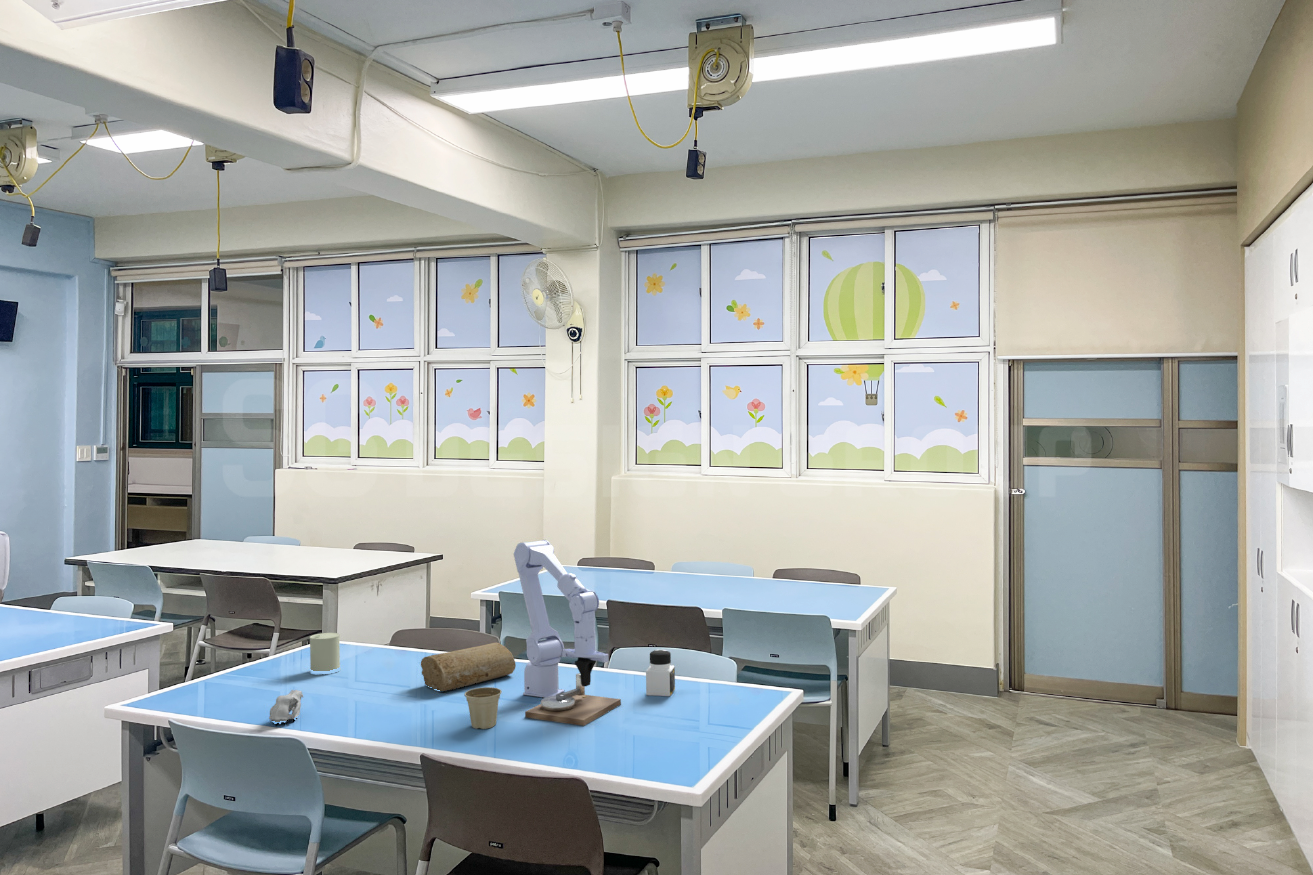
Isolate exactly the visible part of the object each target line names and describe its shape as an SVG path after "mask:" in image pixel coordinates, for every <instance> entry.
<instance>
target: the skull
mask: <svg viewBox="0 0 1313 875" xmlns="http://www.w3.org/2000/svg"><path fill="white" fill-rule="evenodd" d="M302 698H304V694H303V691H301V690H299V689H295V690H294V689H292V690H291V691H290V692H289V693H288V694H286V695H278V696H277V697H276V699H275V703H274V705H272V706H271V708H270V709H269V716H268V718H269V719H268V720H270V722H271V721H275V722H280V721H287V720H288V721H289V720H293V719H294V718H295V717H297V716H298V715H299V716H300V713H301V706H302V703H301V701H302ZM290 712H291V714H290ZM288 721H287V722H288Z"/></svg>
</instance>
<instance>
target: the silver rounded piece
mask: <svg viewBox="0 0 1313 875" xmlns="http://www.w3.org/2000/svg"><path fill="white" fill-rule="evenodd" d="M575 695H579V696H581V695H586V687H585V686H582V684H581V674H580V672H579V673H576V674H575V688H574V689H570V690H567V691H564V692H562V693H560V694H556V696H550V697H546V698H544V697H543V698H542V699H541V700H540V704H541V708H542V709H544V710H549V711H562V710H567V709H571V708H573V707H574V706H575V699H574V698H573V697H572V696H575Z"/></svg>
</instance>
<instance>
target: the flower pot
mask: <svg viewBox="0 0 1313 875" xmlns="http://www.w3.org/2000/svg"><path fill="white" fill-rule="evenodd" d="M502 693H503V692H502V689H501V688H497V687H475V688H471V689H469V690H468V689H467V691H465V692H464V693H463V694H464V697H465V699H466V702H467V704H468V705H467V706H468V711H469V718H470V724H471V728H473V729H477V730H478V729H482V730H487V729H491V728H493V727H495V725H497V718H498V708H499V700H500V698H501V695H502Z"/></svg>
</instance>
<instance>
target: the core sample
mask: <svg viewBox="0 0 1313 875" xmlns="http://www.w3.org/2000/svg"><path fill="white" fill-rule="evenodd" d="M516 666H517V665H516V661H515V658H514V656H513V653H512V652H511V650H509V649H508V648H507V647H506V646H505V645H503V644H501V643H499V642H491V643H487V644H483V645H478V646H473V647H472V646H471V647H468V648H467V647H466V648H463V649H458V650H453V651H448V652H442V653H441V652H440V653H437V654H431V655H427V656H424V657H423V658H421V660H420V667H421V675H422V677H423V681H424V685H425V686H426V685H427V686H429V687H432V688H433V689H437V690H440V691H445V692H448V691H447V690H449V691H452V689H453V690H457V689H461V688H465V687H467V686H471V685H475V683H476V684H479V683H482V682H487V681H491V680H493V679H498V678H502V677H506V676H509V675H512V674H513V673H514V672H515V670H516ZM427 686H426V687H427ZM464 686H465V687H464ZM429 687H428V688H429ZM460 687H461V688H460ZM456 688H457V689H456ZM433 689H432V690H433Z"/></svg>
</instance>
